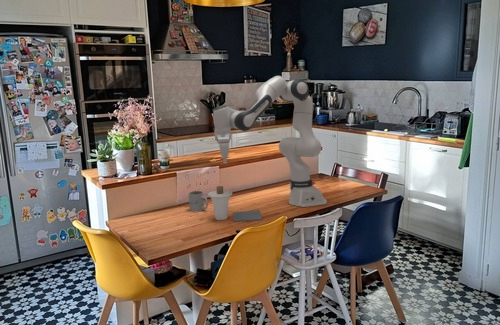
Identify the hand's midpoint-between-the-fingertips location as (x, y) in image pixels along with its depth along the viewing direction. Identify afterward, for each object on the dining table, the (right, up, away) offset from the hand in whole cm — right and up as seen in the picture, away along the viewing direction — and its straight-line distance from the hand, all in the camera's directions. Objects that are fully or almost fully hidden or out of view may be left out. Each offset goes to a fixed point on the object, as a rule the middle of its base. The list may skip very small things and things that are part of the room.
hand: (224, 161), depth 232 cm
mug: (-16, -28, +16) cm, 36 cm away
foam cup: (-2, -31, 0) cm, 31 cm away
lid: (-2, -18, -3) cm, 18 cm away
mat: (+12, -30, +1) cm, 32 cm away
